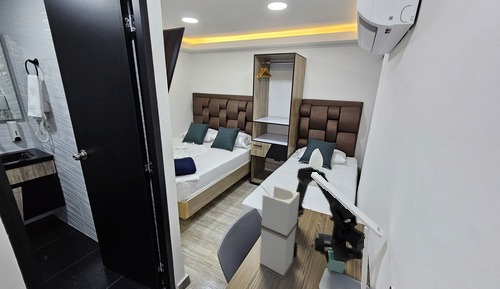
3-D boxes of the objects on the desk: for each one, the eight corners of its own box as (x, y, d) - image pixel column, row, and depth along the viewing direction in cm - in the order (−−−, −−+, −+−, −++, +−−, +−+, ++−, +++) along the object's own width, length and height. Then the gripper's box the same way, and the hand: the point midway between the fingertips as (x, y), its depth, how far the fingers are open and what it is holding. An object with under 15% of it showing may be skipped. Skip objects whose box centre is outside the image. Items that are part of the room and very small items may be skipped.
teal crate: (328, 269, 88) (329, 260, 86) (326, 259, 93) (327, 250, 92) (342, 273, 86) (344, 263, 85) (340, 262, 92) (342, 252, 91)
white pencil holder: (293, 262, 92) (299, 192, 83) (283, 279, 83) (289, 203, 75) (271, 251, 98) (275, 185, 90) (259, 266, 89) (262, 194, 81)
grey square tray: (318, 251, 100) (318, 245, 99) (316, 237, 109) (317, 232, 109) (340, 255, 97) (341, 250, 97) (337, 240, 107) (337, 235, 106)
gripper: (317, 242, 80) (313, 274, 84) (369, 252, 76) (363, 285, 80) (315, 225, 91) (312, 254, 95) (361, 233, 86) (355, 263, 90)
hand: (334, 263), depth 89 cm, fingers closed on teal crate, 6 cm apart
